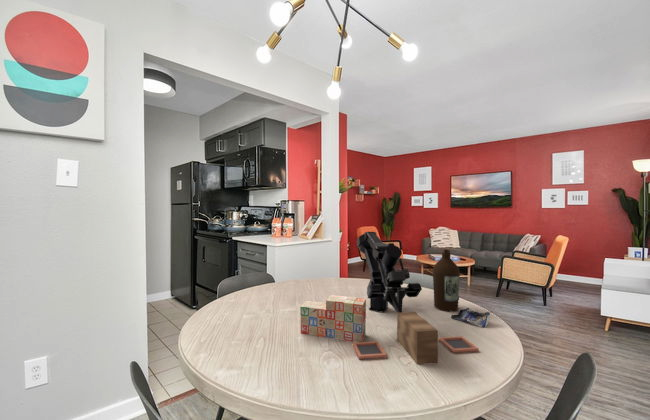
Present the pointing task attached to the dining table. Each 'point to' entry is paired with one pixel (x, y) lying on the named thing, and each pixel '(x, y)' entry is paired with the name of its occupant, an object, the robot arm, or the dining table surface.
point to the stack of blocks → (335, 318)
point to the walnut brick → (417, 337)
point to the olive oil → (446, 283)
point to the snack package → (473, 317)
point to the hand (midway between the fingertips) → (400, 313)
